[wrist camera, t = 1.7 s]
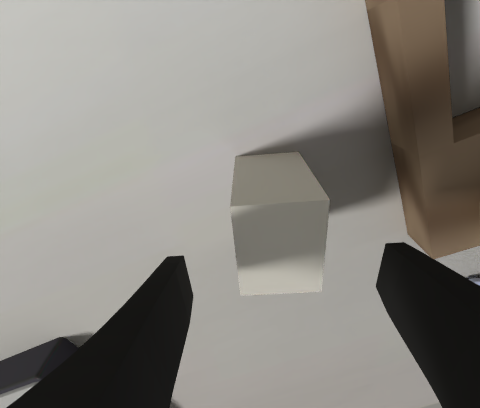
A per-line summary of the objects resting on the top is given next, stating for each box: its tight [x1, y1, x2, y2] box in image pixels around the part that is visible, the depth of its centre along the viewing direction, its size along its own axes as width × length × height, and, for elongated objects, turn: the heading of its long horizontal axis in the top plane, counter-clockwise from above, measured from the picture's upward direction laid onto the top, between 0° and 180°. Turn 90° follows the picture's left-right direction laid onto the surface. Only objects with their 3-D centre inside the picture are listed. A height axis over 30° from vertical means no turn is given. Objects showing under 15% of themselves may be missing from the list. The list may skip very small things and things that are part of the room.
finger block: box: [230, 152, 330, 296], centre depth 13 cm, size 4×5×6 cm
